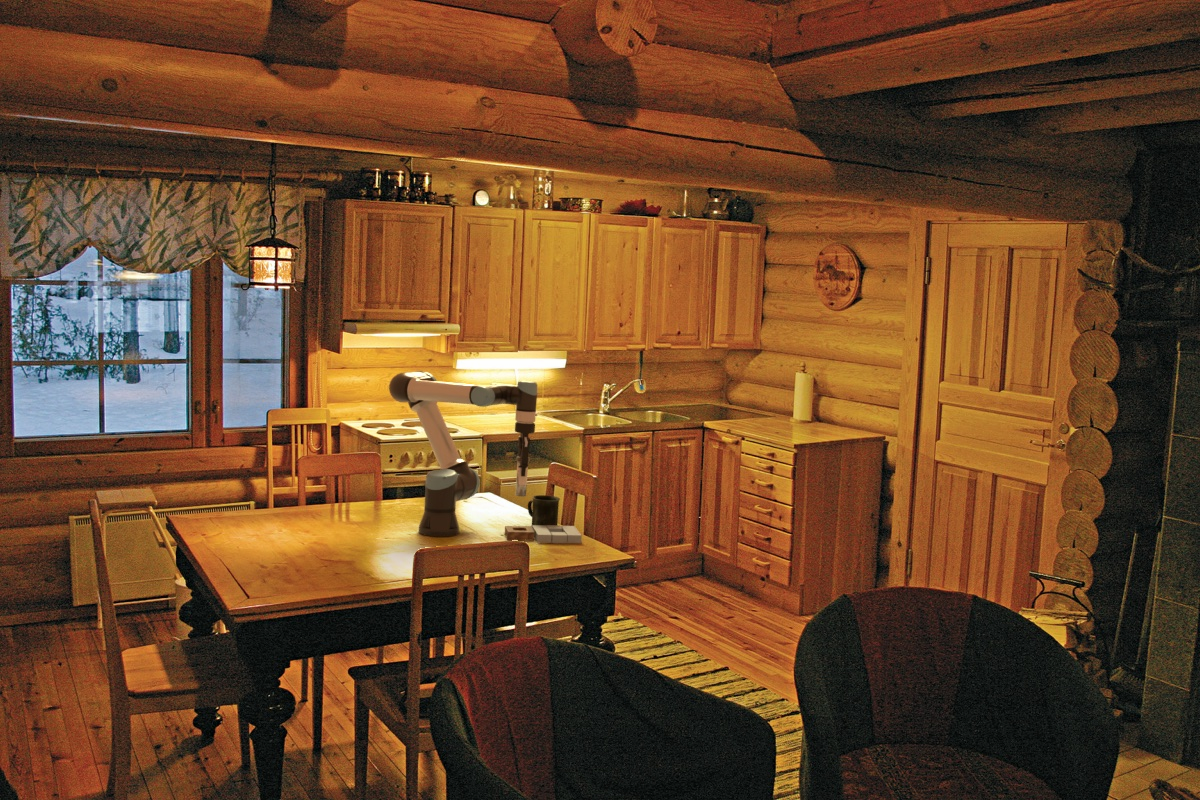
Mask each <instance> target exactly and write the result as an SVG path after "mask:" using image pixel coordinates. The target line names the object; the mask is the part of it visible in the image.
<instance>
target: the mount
mask: <svg viewBox="0 0 1200 800" xmlns="http://www.w3.org/2000/svg"><path fill="white" fill-rule="evenodd" d="M504 535H505V537H506V539H507V541H509V540H510V541H512V540H513V541H515V540H514V539H518V540H517V541H521V540H522V541H534V540H535V538H534V531H533V529H532V525H527V526H526V525H505V526H504ZM525 539H526V540H525Z"/></svg>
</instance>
